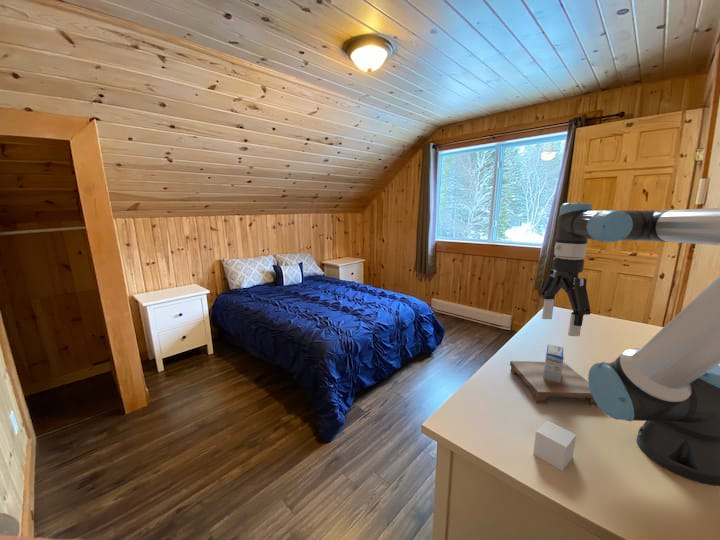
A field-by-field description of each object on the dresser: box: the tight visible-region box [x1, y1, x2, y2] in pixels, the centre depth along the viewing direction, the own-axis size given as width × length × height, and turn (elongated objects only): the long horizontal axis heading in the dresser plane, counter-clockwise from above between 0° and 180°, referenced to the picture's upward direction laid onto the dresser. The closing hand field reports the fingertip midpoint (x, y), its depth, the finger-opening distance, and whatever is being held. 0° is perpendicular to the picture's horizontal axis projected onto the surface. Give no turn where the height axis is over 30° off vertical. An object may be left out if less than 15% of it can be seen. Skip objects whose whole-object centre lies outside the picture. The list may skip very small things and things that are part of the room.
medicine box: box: [543, 344, 565, 383], centre depth 95 cm, size 8×4×9 cm, turn 147°
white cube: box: [533, 420, 577, 472], centre depth 69 cm, size 6×6×6 cm
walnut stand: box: [509, 360, 598, 406], centre depth 96 cm, size 18×18×4 cm
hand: (559, 326), depth 93 cm, fingers open, 13 cm apart
